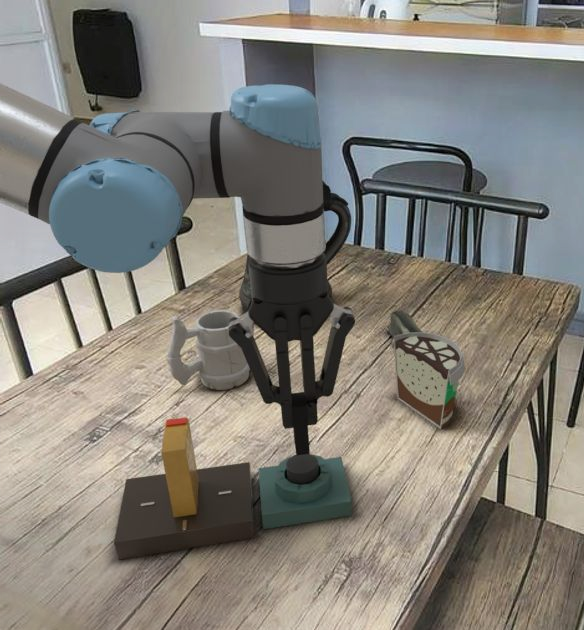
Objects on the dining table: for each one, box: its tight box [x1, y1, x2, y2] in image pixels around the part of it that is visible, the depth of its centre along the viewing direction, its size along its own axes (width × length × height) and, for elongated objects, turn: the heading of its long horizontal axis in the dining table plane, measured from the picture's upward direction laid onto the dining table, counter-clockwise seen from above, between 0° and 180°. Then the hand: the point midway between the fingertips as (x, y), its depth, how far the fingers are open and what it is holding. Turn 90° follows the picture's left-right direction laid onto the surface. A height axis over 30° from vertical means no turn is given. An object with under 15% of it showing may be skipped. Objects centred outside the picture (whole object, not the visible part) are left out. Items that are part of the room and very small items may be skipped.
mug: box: [165, 309, 251, 391], centre depth 99 cm, size 8×12×12 cm, turn 127°
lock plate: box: [113, 461, 255, 560], centre depth 77 cm, size 14×10×3 cm
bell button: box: [286, 453, 319, 485], centre depth 78 cm, size 4×4×2 cm
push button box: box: [258, 454, 353, 530], centre depth 80 cm, size 10×8×4 cm
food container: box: [391, 331, 466, 430], centre depth 96 cm, size 12×6×10 cm, turn 41°
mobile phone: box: [385, 310, 423, 338], centre depth 110 cm, size 5×3×15 cm
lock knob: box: [160, 417, 199, 517], centre depth 74 cm, size 6×2×9 cm, turn 14°
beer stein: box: [238, 180, 352, 314], centre depth 119 cm, size 16×19×25 cm
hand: (301, 446), depth 77 cm, fingers closed
